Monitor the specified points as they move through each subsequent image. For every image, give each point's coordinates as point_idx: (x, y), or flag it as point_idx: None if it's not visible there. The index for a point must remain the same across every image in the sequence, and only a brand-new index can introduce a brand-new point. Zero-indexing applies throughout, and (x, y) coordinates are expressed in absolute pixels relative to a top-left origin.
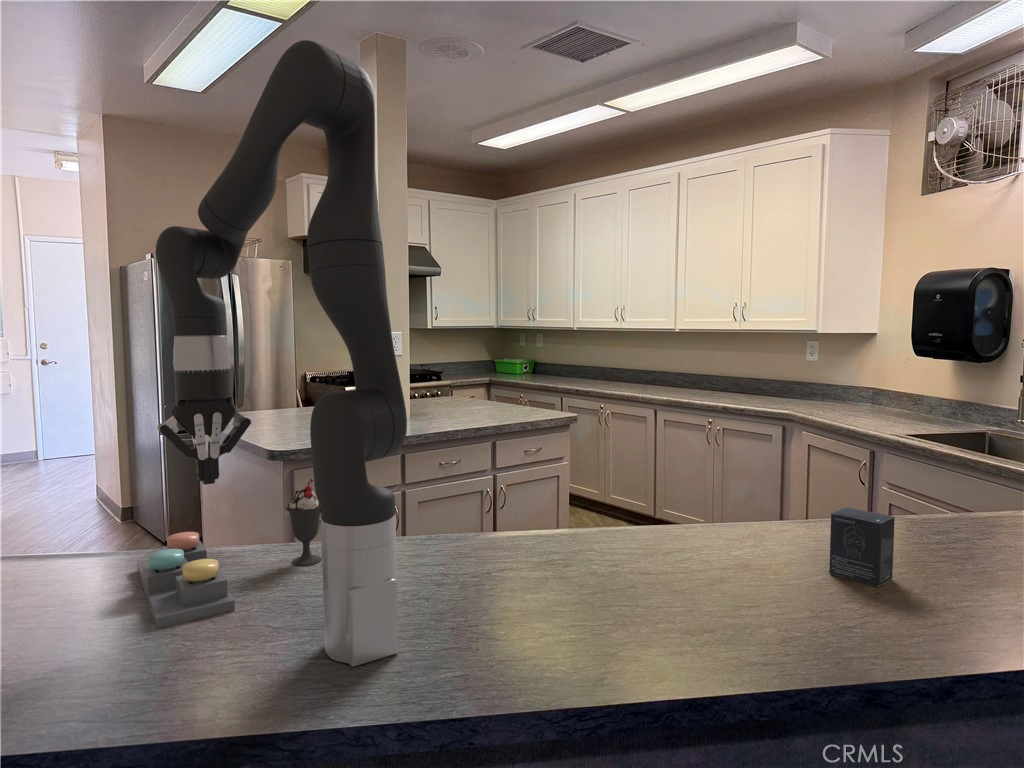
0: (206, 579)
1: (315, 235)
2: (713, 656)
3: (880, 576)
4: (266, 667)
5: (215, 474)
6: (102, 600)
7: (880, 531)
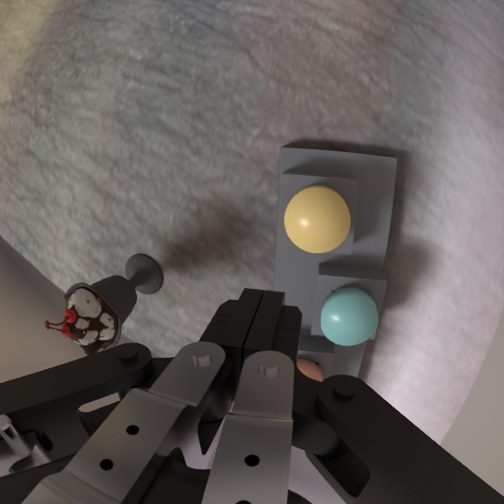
0: (315, 185)
1: None
2: None
3: None
4: None
5: (232, 309)
6: (419, 315)
7: None
